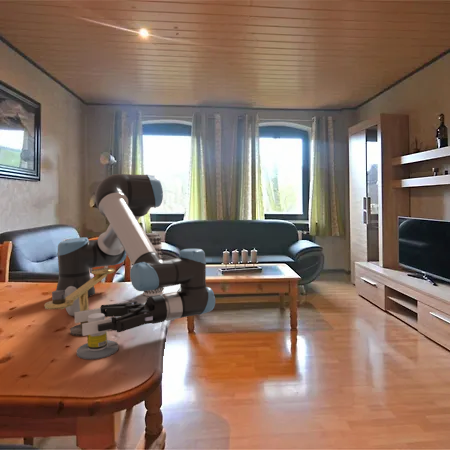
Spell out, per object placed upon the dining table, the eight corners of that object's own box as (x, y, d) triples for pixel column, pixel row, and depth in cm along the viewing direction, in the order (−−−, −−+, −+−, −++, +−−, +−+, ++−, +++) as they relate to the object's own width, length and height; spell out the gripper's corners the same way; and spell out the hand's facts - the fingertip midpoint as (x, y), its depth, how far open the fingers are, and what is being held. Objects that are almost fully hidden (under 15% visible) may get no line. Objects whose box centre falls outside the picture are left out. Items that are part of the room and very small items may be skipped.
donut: (63, 313, 122) (61, 284, 122) (73, 311, 125) (72, 283, 124) (72, 320, 115) (70, 289, 114) (83, 317, 117) (81, 288, 116)
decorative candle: (138, 295, 143) (136, 234, 142) (147, 290, 153) (145, 232, 151) (160, 296, 142) (158, 234, 140) (167, 290, 151) (165, 232, 150)
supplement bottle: (90, 344, 93) (89, 312, 92) (109, 343, 93) (108, 312, 93) (85, 352, 88) (83, 318, 87) (104, 351, 88) (103, 317, 88)
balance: (39, 346, 94) (35, 285, 93) (101, 316, 119) (99, 267, 117) (63, 350, 91) (60, 287, 90) (122, 318, 116) (120, 268, 115)
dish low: (67, 356, 87) (67, 353, 87) (94, 341, 97) (94, 338, 97) (101, 361, 84) (101, 358, 84) (126, 345, 94) (125, 342, 94)
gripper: (180, 333, 90) (88, 354, 78) (149, 310, 109) (71, 325, 97) (179, 304, 90) (86, 321, 78) (148, 286, 109) (70, 298, 97)
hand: (78, 323), depth 88 cm, fingers open, 10 cm apart
